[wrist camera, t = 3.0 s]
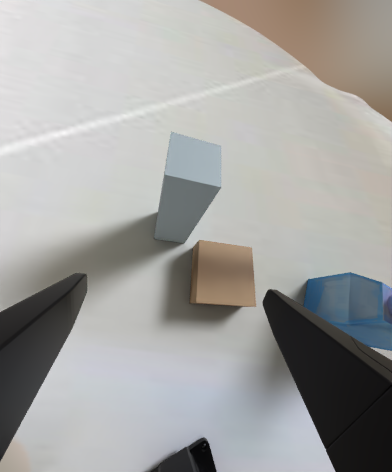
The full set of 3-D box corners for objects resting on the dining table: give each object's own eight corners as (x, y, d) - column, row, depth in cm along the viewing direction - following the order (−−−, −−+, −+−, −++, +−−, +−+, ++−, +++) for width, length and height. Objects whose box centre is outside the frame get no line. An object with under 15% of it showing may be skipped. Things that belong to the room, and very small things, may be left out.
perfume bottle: (338, 341, 25) (486, 367, 14) (300, 319, 25) (424, 330, 14) (341, 299, 28) (468, 294, 17) (308, 279, 27) (415, 261, 16)
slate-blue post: (184, 243, 24) (221, 187, 13) (153, 238, 23) (164, 174, 12) (186, 216, 25) (221, 145, 14) (158, 211, 25) (171, 131, 13)
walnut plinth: (242, 306, 23) (255, 306, 20) (189, 303, 21) (196, 302, 19) (240, 253, 26) (251, 247, 23) (193, 247, 24) (199, 239, 21)
